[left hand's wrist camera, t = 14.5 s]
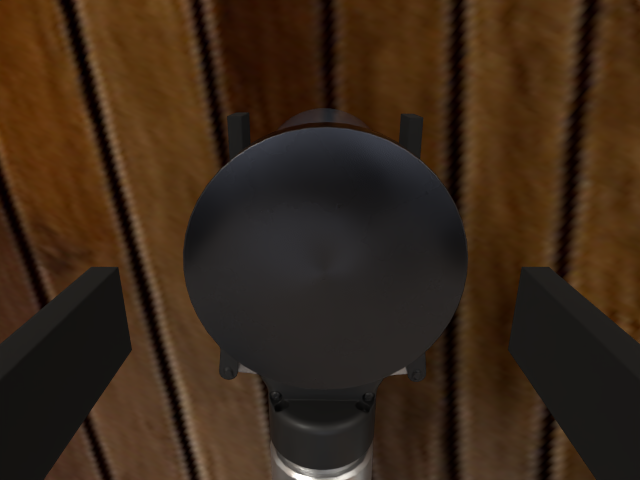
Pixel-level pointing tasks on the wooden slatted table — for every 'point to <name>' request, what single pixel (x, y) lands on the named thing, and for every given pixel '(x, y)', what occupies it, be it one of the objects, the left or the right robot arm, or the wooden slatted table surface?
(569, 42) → the wooden slatted table surface
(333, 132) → the lid
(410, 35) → the wooden slatted table surface
